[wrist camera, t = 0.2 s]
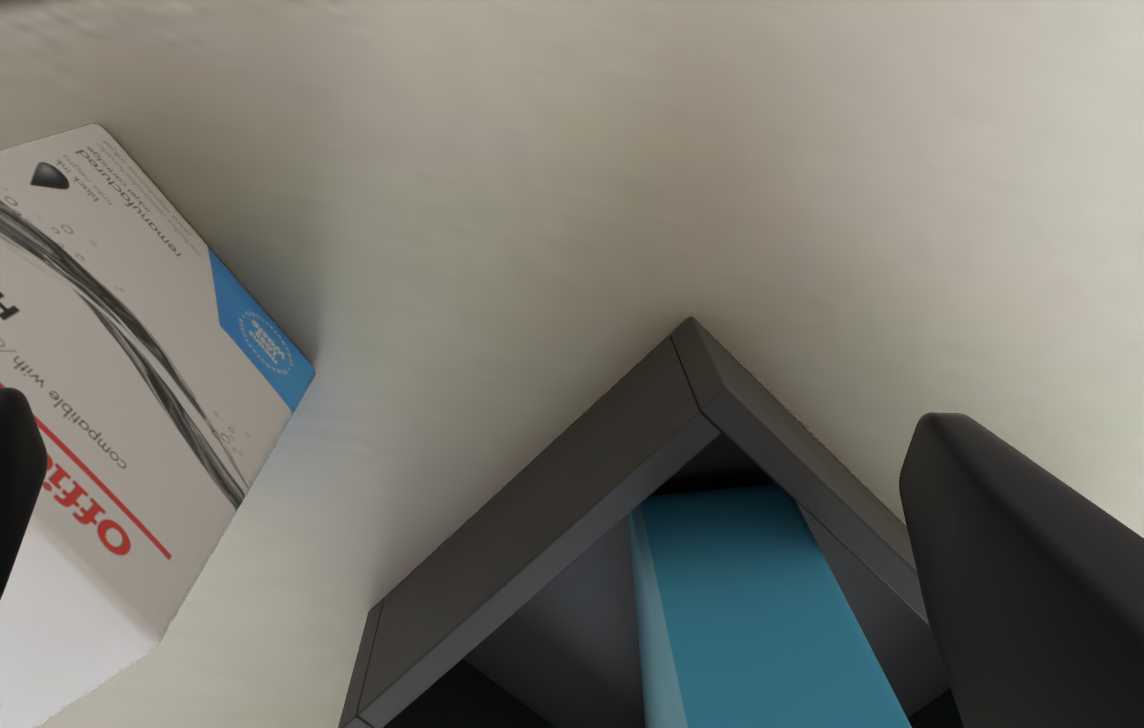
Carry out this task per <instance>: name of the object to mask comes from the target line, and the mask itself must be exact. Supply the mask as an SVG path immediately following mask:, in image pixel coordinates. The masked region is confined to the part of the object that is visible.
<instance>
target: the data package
mask: <svg viewBox="0 0 1144 728" xmlns="http://www.w3.org/2000/svg"><path fill="white" fill-rule="evenodd" d="M629 527H630V540H631V553H632V565H633V578H634V590H635V603H636V615H637V628H638V641H639V653H640V666H641V678H642V691H643V704H644V716H645V728H912V727H911V725H910V723H909V721H908V719H907V717H906V715H905V713H904V711H903V709H902V707H901V705H900V703H899V701H898V699H897V697H896V696H895V694H894V692H893V690H892V688H891V686H890V684H889V682H888V680H887V678H886V676H885V674H884V672H883V670H882V668H881V666H880V664H879V662H878V660H877V658H876V657H875V655H874V653H873V651H872V649H871V647H870V645H869V643H868V641H867V639H866V637H865V635H864V633H863V631H862V629H861V627H860V625H859V623H858V621H857V619H856V618H855V616H854V614H853V612H852V610H851V608H850V606H849V604H848V602H847V600H846V598H845V596H844V594H843V592H842V590H841V588H840V586H839V584H838V582H837V580H836V579H835V577H834V575H833V573H832V571H831V569H830V567H829V565H828V563H827V561H826V559H825V557H824V555H823V553H822V551H821V549H820V547H819V545H818V543H817V541H816V539H815V538H814V536H813V534H812V532H811V530H810V528H809V526H808V524H807V522H806V520H805V518H804V516H803V514H802V512H801V510H800V508H799V506H798V504H797V502H796V501H795V500H794V499H793V498H792V497H791V496H790V495H789V494H788V493H787V492H786V491H785V490H784V489H783V488H782V487H781V486H779V485H778V484H777V483H776V484H766V485H756V486H746V487H736V488H726V489H716V490H707V491H697V492H687V493H677V494H667V495H657V496H649V497H648V498H646V499H645V500H644V501H643V502H642V503H641V504H640V505H638V506H637V507H636V508H635V509H634V510H633V511H631V512H630V513H629Z"/></svg>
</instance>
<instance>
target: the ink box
mask: <svg viewBox="0 0 1144 728" xmlns="http://www.w3.org/2000/svg"><path fill="white" fill-rule="evenodd" d="M314 376H315V370H314V367H313V366H312V365H311V363H310V362H309V361H308V360H307V359H306V358H305V357H304V356H303V355H302V353H301V352H300V351H299V350H298V349H297V348H296V347H295V345H294V344H293V343H292V342H291V341H290V340H289V339H288V338H287V336H286V335H285V334H284V333H283V332H282V331H281V330H280V328H279V327H278V326H277V325H276V324H275V323H274V322H273V320H272V319H271V318H270V317H269V316H268V315H267V314H266V312H265V311H264V310H263V309H262V308H261V307H260V306H259V304H258V303H257V302H256V301H255V300H254V299H253V297H252V296H251V295H250V294H249V293H248V292H247V291H246V289H245V288H244V287H243V286H242V285H241V284H240V283H239V282H238V281H237V279H236V278H235V277H234V276H233V275H232V273H231V272H230V271H229V270H228V269H227V268H226V267H225V265H224V264H223V263H222V262H221V261H220V260H219V259H218V258H217V257H216V255H215V254H214V253H213V252H212V251H211V250H210V248H209V247H208V246H207V245H206V244H205V242H204V241H203V240H202V239H201V238H200V237H199V235H198V234H197V233H196V232H195V231H194V230H193V229H192V227H191V226H190V225H189V224H188V223H187V222H186V221H185V220H184V218H183V217H182V216H181V215H180V214H179V213H178V212H177V210H176V209H175V208H174V207H173V206H172V205H171V203H170V202H169V201H168V200H167V199H166V198H165V196H164V195H163V194H162V193H161V192H160V191H159V189H158V188H157V187H156V186H155V185H154V184H153V183H152V181H151V180H150V179H149V178H148V177H147V176H146V175H145V173H144V172H143V171H142V170H141V169H140V168H139V167H138V166H137V164H136V163H135V162H134V161H133V160H132V159H131V158H130V156H129V155H128V154H127V153H126V152H125V151H124V150H123V149H122V147H121V146H120V145H119V144H118V143H117V142H116V141H115V140H114V138H113V137H112V136H111V135H110V134H109V133H108V132H107V131H106V130H105V129H104V128H102V127H101V126H100V125H97V124H89V125H86V126H83V127H80V128H76V129H73V130H70V131H67V132H63V133H60V134H56V135H53V136H49V137H46V138H42V139H39V140H35V141H31V142H28V143H24V144H21V145H18V146H14V147H10V148H7V149H3V150H0V387H10V388H15V389H18V390H20V391H21V392H22V393H23V394H24V395H25V396H26V398H27V400H28V402H29V405H30V407H31V410H32V413H33V415H34V418H35V420H36V423H37V426H38V428H39V431H40V434H41V436H42V439H43V442H44V444H45V447H46V450H47V456H48V467H47V473H46V476H45V479H44V482H43V485H42V488H41V490H40V493H39V496H38V499H37V502H36V504H35V507H34V510H33V513H32V515H31V518H30V521H29V524H28V527H27V529H26V532H25V535H24V538H23V541H22V543H21V546H20V549H19V552H18V554H17V557H16V560H15V563H14V566H13V568H12V571H11V574H10V577H9V580H8V582H7V585H6V588H5V590H4V593H3V595H2V598H1V600H0V728H37V727H38V726H40V725H41V724H42V723H44V722H45V721H47V720H48V719H49V718H51V717H52V716H54V715H55V714H56V713H58V712H59V711H61V710H62V709H64V708H65V707H67V706H69V705H70V704H72V703H73V702H75V701H76V700H78V699H80V698H81V697H83V696H84V695H86V694H88V693H89V692H91V691H92V690H94V689H95V688H96V687H98V686H99V685H100V684H102V683H103V682H105V681H107V680H108V679H110V678H111V677H113V676H114V675H116V674H118V673H119V672H120V671H122V670H123V669H124V668H126V667H127V666H129V665H130V664H132V663H133V662H135V661H137V660H138V659H140V658H141V657H143V656H144V655H146V654H147V653H149V652H150V651H151V650H152V649H154V648H155V647H156V646H157V645H158V644H159V643H160V642H161V640H162V639H163V637H164V634H165V632H166V631H167V629H168V627H169V625H170V623H171V622H172V620H173V619H174V617H175V616H176V614H177V612H178V610H179V608H180V607H181V605H182V604H183V602H184V600H185V598H186V597H187V595H188V593H189V591H190V590H191V588H192V586H193V585H194V583H195V581H196V580H197V578H198V576H199V575H200V573H201V571H202V570H203V568H204V566H205V564H206V562H207V561H208V559H209V557H210V555H211V554H212V553H213V551H214V550H215V548H216V546H217V544H218V542H219V540H220V539H221V537H222V536H223V534H224V532H225V531H226V529H227V527H228V526H229V524H230V522H231V521H232V519H233V517H234V515H235V513H236V511H237V509H238V507H239V506H240V505H241V503H242V502H243V499H244V498H245V496H246V495H247V493H248V491H249V489H250V488H251V486H252V484H253V483H254V481H255V479H256V477H257V476H258V474H259V472H260V470H261V469H262V467H263V465H264V464H265V462H266V460H267V458H268V457H269V455H270V453H271V451H272V449H273V448H274V446H275V444H276V442H277V440H278V439H279V437H280V435H281V433H282V432H283V430H284V428H285V426H286V425H287V423H288V421H289V420H290V418H291V416H292V414H293V413H294V411H295V409H296V408H297V406H298V404H299V402H300V400H301V398H302V397H303V395H304V393H305V391H306V390H307V388H308V386H309V385H310V383H311V382H312V380H313V378H314Z"/></svg>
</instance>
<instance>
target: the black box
mask: <svg viewBox="0 0 1144 728" xmlns="http://www.w3.org/2000/svg"><path fill="white" fill-rule="evenodd" d="M776 483H777V484H778V485H779V486H781V487H782V488H783V489H784V490H785V491H786V492H787V493H788V494H789V495H790V496H791V497H792V498H793V499H794V500H795V501H796V502H797V504H798V506H799V508H800V510H801V512H802V514H803V516H804V518H805V520H806V522H807V524H808V526H809V528H810V530H811V532H812V534H813V536H814V538H815V539H816V541H817V543H818V545H819V547H820V549H821V551H822V553H823V555H824V557H825V559H826V561H827V563H828V565H829V567H830V569H831V571H832V573H833V575H834V577H835V579H836V580H837V582H838V584H839V586H840V588H841V590H842V592H843V594H844V596H845V598H846V600H847V602H848V604H849V606H850V608H851V610H852V612H853V614H854V616H855V618H856V619H857V621H858V623H859V625H860V627H861V629H862V631H863V633H864V635H865V637H866V639H867V641H868V643H869V645H870V647H871V649H872V651H873V653H874V655H875V657H876V658H877V660H878V662H879V664H880V666H881V668H882V670H883V672H884V674H885V676H886V678H887V680H888V682H889V684H890V686H891V688H892V690H893V692H894V694H895V696H896V697H897V699H898V701H899V703H900V705H901V707H902V709H903V711H904V713H905V715H906V717H907V719H908V721H909V723H910V725H911V727H912V728H964V725H963V722H962V719H961V716H960V714H959V711H958V708H957V705H956V702H955V699H954V696H953V693H952V690H951V688H950V685H949V682H948V679H947V676H946V673H945V670H944V667H943V665H942V662H941V659H940V656H939V653H938V650H937V647H936V644H935V641H934V638H933V635H932V632H931V628H930V625H929V622H928V618H927V614H926V610H925V606H924V602H923V597H922V593H921V588H920V584H919V579H918V575H917V570H916V565H915V561H914V556H913V552H912V547H911V543H910V538H909V534H908V529H907V527H906V526H905V525H904V524H903V523H902V522H901V521H900V520H899V519H898V518H897V517H896V516H895V515H894V514H893V513H892V512H891V511H890V510H889V509H888V508H887V507H886V506H885V505H884V504H883V503H882V502H881V501H880V500H879V499H877V498H876V497H875V496H874V495H873V494H872V493H871V492H870V491H869V490H868V489H867V488H866V487H865V486H864V485H863V484H862V483H861V482H860V481H859V480H858V479H857V478H856V477H855V476H854V475H853V474H852V473H851V472H850V471H849V470H848V469H847V468H846V467H845V466H844V465H843V464H842V463H841V462H840V461H839V460H838V459H837V458H836V457H835V456H834V455H833V454H832V453H831V452H830V451H829V450H828V449H827V448H826V447H825V446H823V445H822V444H821V443H820V442H819V441H818V440H817V439H816V438H815V437H814V436H813V435H812V434H811V433H810V432H809V431H808V430H807V429H806V428H805V427H804V426H803V425H802V424H801V423H800V422H799V421H798V420H797V419H796V418H795V417H794V416H793V415H792V414H791V413H790V412H789V411H788V410H787V409H786V408H785V407H784V406H783V405H782V404H781V403H780V402H779V401H778V400H777V399H776V398H775V397H774V396H773V395H772V394H770V393H769V392H768V391H767V390H766V389H765V388H764V387H763V386H762V385H761V384H760V383H759V382H758V381H757V380H756V379H755V378H754V377H753V376H752V375H751V374H750V373H749V372H748V371H747V370H746V369H745V368H744V367H743V366H742V365H741V364H740V363H739V362H738V361H737V360H736V359H735V358H734V357H733V356H732V355H731V354H730V353H729V352H728V351H727V350H726V349H725V348H724V347H723V346H722V345H721V344H720V343H719V342H718V341H716V340H715V339H714V338H713V337H712V336H711V335H710V334H709V333H708V332H707V331H706V330H705V329H704V328H703V327H702V326H701V325H700V324H699V323H698V322H697V321H696V320H695V319H694V318H693V317H689V318H688V319H687V320H685V321H684V322H683V323H682V324H681V325H680V326H679V327H678V328H677V329H676V330H675V331H674V332H672V334H671V336H668V337H667V338H666V339H665V340H664V341H662V342H661V343H660V344H659V345H658V346H657V347H656V348H655V349H654V350H653V351H652V352H650V353H649V354H648V355H647V356H646V357H645V358H644V359H643V360H642V361H641V362H640V363H639V364H637V365H636V366H635V367H634V368H633V369H632V370H631V371H630V372H629V373H628V374H627V375H626V376H624V377H623V378H622V379H621V380H620V381H619V382H618V383H617V384H616V385H615V386H614V387H613V388H611V389H610V390H609V391H608V392H607V393H606V394H605V395H604V396H603V397H602V398H601V399H600V400H598V401H597V402H596V403H595V404H594V405H593V406H592V407H591V408H590V409H589V410H588V411H587V412H585V413H584V414H583V415H582V416H581V417H580V418H579V419H578V420H577V421H576V422H575V423H574V424H572V425H571V426H570V427H569V428H568V429H567V430H566V431H565V432H564V433H563V434H562V435H560V436H559V437H558V438H557V439H556V440H555V441H554V442H553V443H552V444H551V445H550V446H549V447H547V448H546V449H545V450H544V451H543V452H542V453H541V454H540V455H539V456H538V457H537V458H536V459H534V460H533V461H532V462H531V463H530V464H529V465H528V466H527V467H526V468H525V469H524V470H523V471H521V472H520V473H519V474H518V475H517V476H516V477H515V478H514V479H513V480H512V481H511V482H510V483H508V484H507V485H506V486H505V487H504V488H503V489H502V490H501V491H500V492H499V493H498V494H497V495H495V496H494V497H493V498H492V499H491V500H490V501H489V502H488V503H487V504H486V505H485V506H483V507H482V508H481V509H480V510H479V511H478V512H477V513H476V514H475V515H474V516H473V517H472V518H470V519H469V520H468V521H467V522H466V523H465V524H464V525H463V526H462V527H461V528H460V529H459V530H457V531H456V532H455V533H454V534H453V535H452V536H451V537H450V538H449V539H448V540H447V541H446V542H444V543H443V544H442V545H441V546H440V547H439V548H438V549H437V550H436V551H435V552H434V553H433V554H431V555H430V556H429V557H428V558H427V559H426V560H425V561H424V562H423V563H422V564H421V565H420V566H418V567H417V568H416V569H415V570H414V571H413V572H412V573H411V574H410V575H409V576H408V577H407V578H405V579H404V580H403V581H402V582H401V583H400V584H399V585H398V586H397V587H396V588H395V589H393V590H392V591H391V592H390V593H389V594H388V595H387V596H386V597H385V598H384V599H383V600H382V601H380V602H379V603H378V604H377V605H376V606H375V607H374V608H373V609H372V610H371V611H370V612H369V613H368V616H367V620H366V624H365V627H364V631H363V635H362V639H361V643H360V647H359V650H358V654H357V658H356V662H355V666H354V670H353V673H352V677H351V681H350V685H349V689H348V693H347V696H346V700H345V704H344V708H343V712H342V716H341V719H340V723H339V727H338V728H645V716H644V704H643V691H642V678H641V666H640V653H639V641H638V628H637V615H636V603H635V590H634V578H633V565H632V553H631V540H630V527H629V513H630V512H631V511H633V510H634V509H635V508H636V507H637V506H638V505H640V504H641V503H642V502H643V501H644V500H645V499H646V498H648V497H649V496H657V495H667V494H677V493H687V492H697V491H707V490H716V489H726V488H736V487H746V486H756V485H766V484H776Z"/></svg>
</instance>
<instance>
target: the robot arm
mask: <svg viewBox="0 0 1144 728" xmlns="http://www.w3.org/2000/svg"><path fill="white" fill-rule="evenodd" d="M47 467H48V456H47V450H46V447H45V444H44V442H43V439H42V436H41V434H40V431H39V428H38V426H37V423H36V420H35V418H34V415H33V413H32V410H31V407H30V405H29V402H28V400H27V398H26V396H25V395H24V394H23V393H22V392H21V391H20V390H18V389H15V388H10V387H0V600H1V598H2V595H3V593H4V590H5V588H6V585H7V582H8V580H9V577H10V574H11V571H12V568H13V566H14V563H15V560H16V557H17V554H18V552H19V549H20V546H21V543H22V541H23V538H24V535H25V532H26V529H27V527H28V524H29V521H30V518H31V515H32V513H33V510H34V507H35V504H36V502H37V499H38V496H39V493H40V490H41V488H42V485H43V482H44V479H45V476H46V473H47ZM899 491H900V497H901V502H902V506H903V511H904V515H905V520H906V524H907V529H908V534H909V538H910V543H911V547H912V552H913V556H914V561H915V565H916V570H917V575H918V579H919V584H920V588H921V593H922V597H923V602H924V606H925V610H926V614H927V618H928V622H929V625H930V628H931V632H932V635H933V638H934V641H935V644H936V647H937V650H938V653H939V656H940V659H941V662H942V665H943V667H944V670H945V673H946V676H947V679H948V682H949V685H950V688H951V690H952V693H953V696H954V699H955V702H956V705H957V708H958V711H959V714H960V716H961V719H962V722H963V725H964V728H1144V538H1142V537H1141V536H1139V535H1138V534H1137V533H1135V532H1134V531H1132V530H1131V529H1129V528H1128V527H1127V526H1125V525H1124V524H1122V523H1121V522H1119V521H1118V520H1117V519H1115V518H1114V517H1112V516H1111V515H1109V514H1108V513H1106V512H1105V511H1104V510H1102V509H1101V508H1099V507H1098V506H1096V505H1095V504H1094V503H1092V502H1091V501H1089V500H1088V499H1086V498H1085V497H1084V496H1082V495H1081V494H1079V493H1078V492H1076V491H1075V490H1074V489H1072V488H1071V487H1069V486H1068V485H1066V484H1065V483H1063V482H1062V481H1061V480H1059V479H1058V478H1056V477H1055V476H1053V475H1052V474H1051V473H1049V472H1048V471H1046V470H1045V469H1043V468H1042V467H1041V466H1039V465H1038V464H1036V463H1035V462H1033V461H1032V460H1031V459H1029V458H1028V457H1026V456H1025V455H1023V454H1022V453H1021V452H1019V451H1018V450H1016V449H1015V448H1013V447H1012V446H1010V445H1009V444H1008V443H1006V442H1005V441H1003V440H1002V439H1000V438H999V437H998V436H996V435H995V434H993V433H992V432H990V431H989V430H988V429H986V428H985V427H983V426H982V425H980V424H979V423H978V422H976V421H975V420H973V419H972V418H970V417H969V416H967V415H964V414H960V413H927V414H925V415H923V416H922V417H921V418H920V420H919V421H918V424H917V426H916V428H915V431H914V434H913V437H912V440H911V443H910V446H909V449H908V451H907V454H906V457H905V460H904V463H903V466H902V469H901V473H900V478H899Z"/></svg>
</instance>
